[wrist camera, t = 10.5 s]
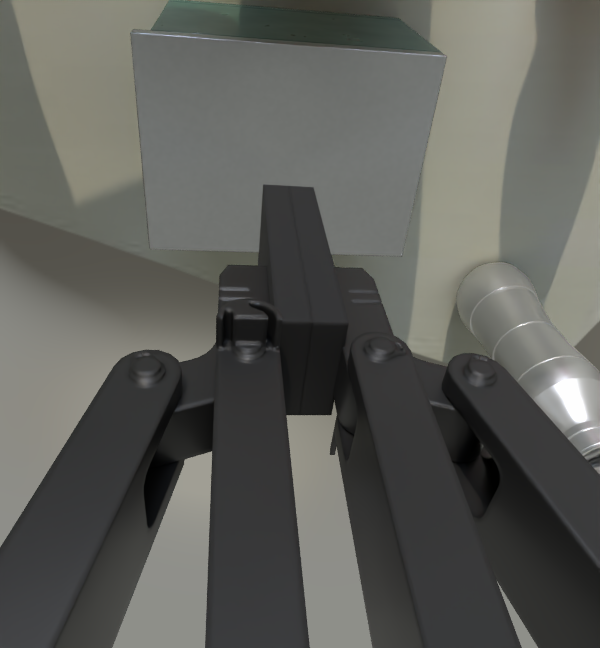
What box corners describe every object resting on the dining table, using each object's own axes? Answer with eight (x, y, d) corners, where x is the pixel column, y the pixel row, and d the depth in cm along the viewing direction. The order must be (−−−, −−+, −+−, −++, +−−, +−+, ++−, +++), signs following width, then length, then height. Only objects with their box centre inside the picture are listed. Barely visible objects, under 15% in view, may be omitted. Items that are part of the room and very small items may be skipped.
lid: (150, 242, 34) (149, 249, 33) (132, 28, 27) (130, 32, 26) (399, 250, 36) (402, 256, 35) (442, 52, 29) (447, 56, 28)
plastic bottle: (445, 317, 52) (536, 502, 36) (454, 255, 48) (560, 433, 32) (513, 311, 52) (633, 492, 37) (527, 248, 48) (669, 421, 32)
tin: (177, 177, 42) (164, 242, 34) (169, -2, 35) (149, 29, 27) (370, 186, 43) (399, 250, 36) (398, 17, 36) (442, 51, 29)
